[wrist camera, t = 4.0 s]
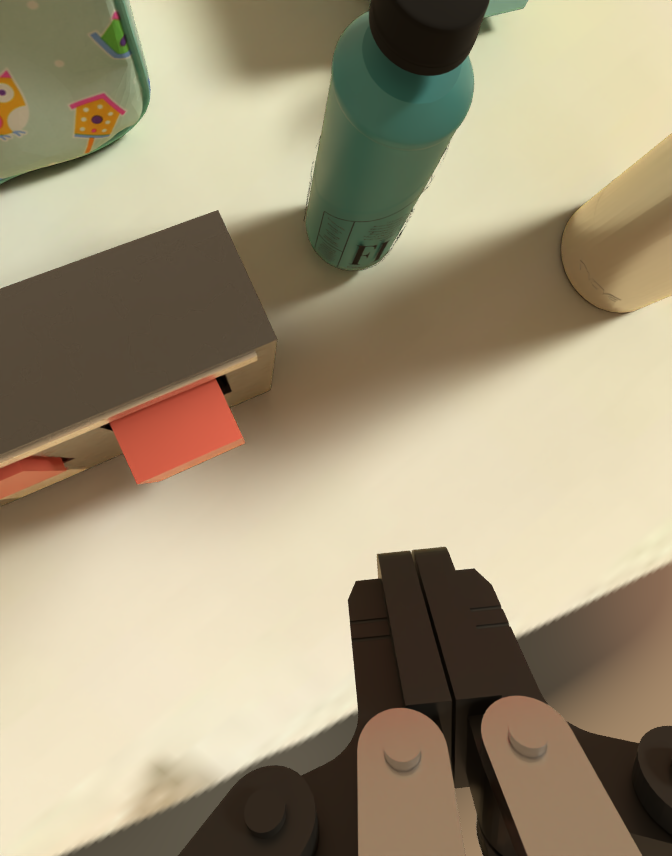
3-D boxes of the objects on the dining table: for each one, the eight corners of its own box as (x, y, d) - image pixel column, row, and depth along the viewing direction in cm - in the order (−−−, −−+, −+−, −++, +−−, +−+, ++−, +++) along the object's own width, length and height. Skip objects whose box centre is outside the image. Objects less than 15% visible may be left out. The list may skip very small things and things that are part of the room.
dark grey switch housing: (234, 310, 35) (218, 210, 22) (271, 392, 35) (279, 343, 22) (-64, 429, 32) (-308, 400, 18) (-23, 520, 32) (-238, 559, 18)
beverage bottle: (337, 299, 37) (428, 101, 17) (281, 224, 36) (306, -66, 17) (407, 250, 38) (570, 9, 18) (353, 176, 37) (457, -149, 18)
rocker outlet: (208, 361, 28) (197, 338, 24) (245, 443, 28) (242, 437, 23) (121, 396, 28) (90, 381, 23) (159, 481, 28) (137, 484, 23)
